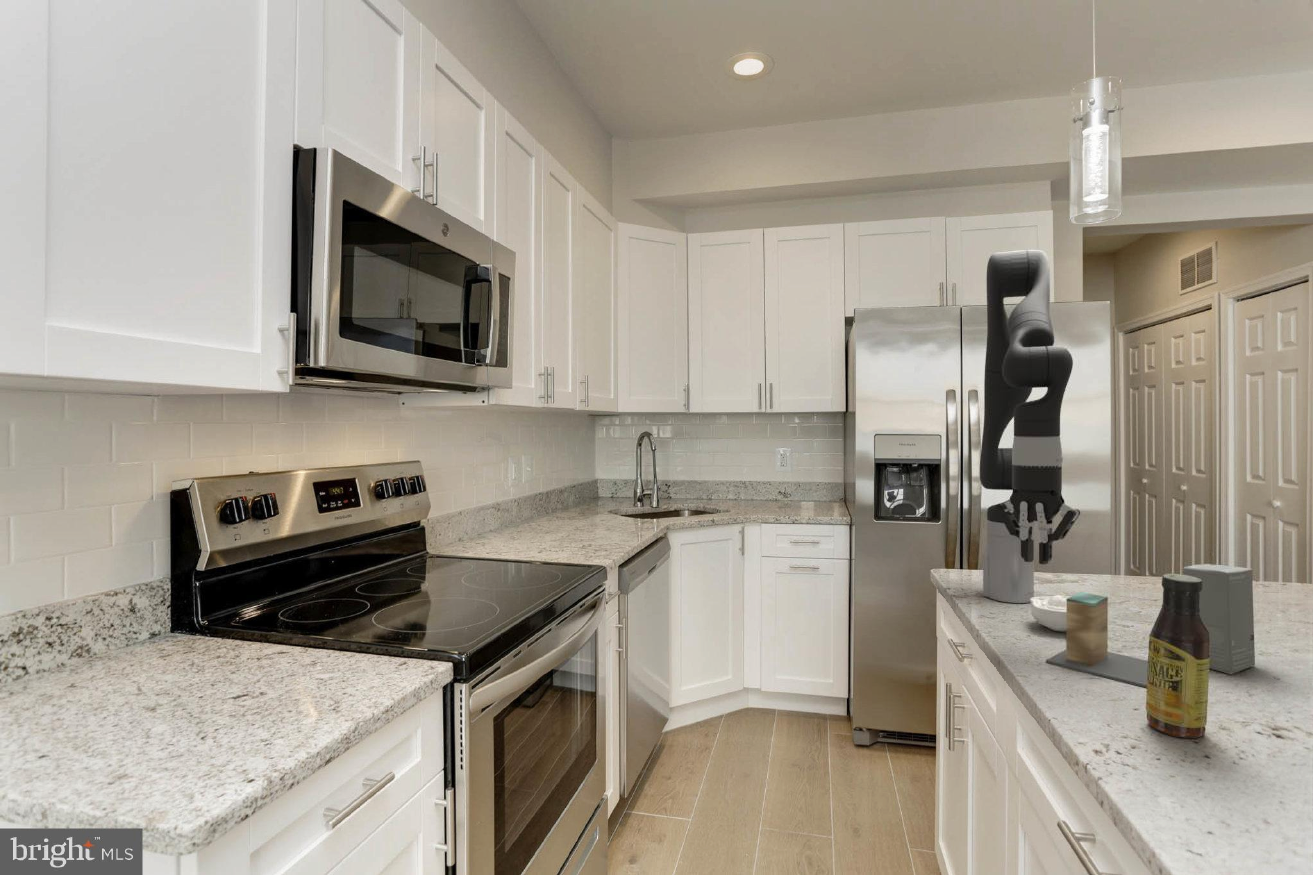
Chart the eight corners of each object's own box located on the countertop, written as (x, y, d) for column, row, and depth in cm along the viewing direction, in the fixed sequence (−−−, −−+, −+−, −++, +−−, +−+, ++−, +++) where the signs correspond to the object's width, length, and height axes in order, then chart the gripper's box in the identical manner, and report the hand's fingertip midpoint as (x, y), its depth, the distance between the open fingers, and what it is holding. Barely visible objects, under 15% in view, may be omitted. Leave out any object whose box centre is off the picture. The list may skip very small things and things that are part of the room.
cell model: (1097, 626, 131) (1098, 591, 131) (1083, 642, 122) (1083, 604, 122) (1038, 616, 138) (1038, 583, 138) (1021, 630, 129) (1021, 595, 129)
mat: (1045, 662, 112) (1045, 660, 112) (1075, 646, 120) (1075, 644, 120) (1163, 692, 100) (1163, 689, 100) (1188, 672, 107) (1188, 669, 107)
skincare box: (1231, 676, 106) (1232, 573, 105) (1179, 661, 112) (1179, 565, 112) (1258, 666, 110) (1259, 567, 109) (1205, 653, 116) (1206, 559, 116)
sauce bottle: (1134, 720, 91) (1134, 571, 90) (1178, 717, 91) (1179, 569, 91) (1175, 743, 84) (1176, 582, 84) (1222, 740, 85) (1224, 581, 84)
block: (1066, 659, 113) (1066, 598, 113) (1080, 650, 117) (1080, 592, 116) (1093, 665, 110) (1093, 603, 109) (1107, 657, 113) (1107, 596, 113)
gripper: (986, 462, 122) (986, 559, 122) (1071, 465, 111) (1071, 572, 111) (1005, 460, 126) (1005, 554, 127) (1089, 463, 115) (1089, 565, 116)
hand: (1036, 562), depth 119 cm, fingers closed
